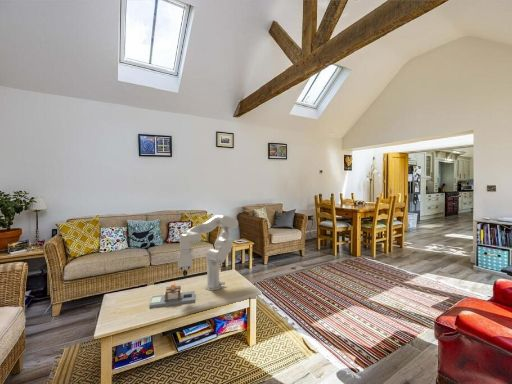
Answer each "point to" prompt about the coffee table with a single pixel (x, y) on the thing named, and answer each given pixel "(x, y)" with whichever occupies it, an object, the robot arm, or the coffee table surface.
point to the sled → (173, 295)
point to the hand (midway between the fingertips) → (185, 275)
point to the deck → (172, 300)
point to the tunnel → (168, 290)
